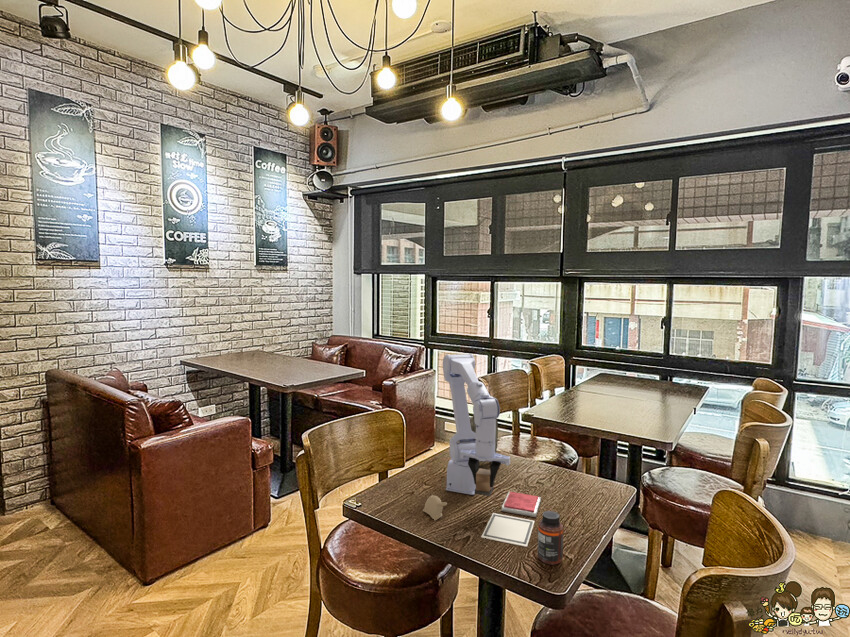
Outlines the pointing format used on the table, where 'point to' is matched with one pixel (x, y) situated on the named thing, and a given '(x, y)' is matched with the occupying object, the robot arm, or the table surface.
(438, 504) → the decorative ornament
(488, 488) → the stamp
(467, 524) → the table surface
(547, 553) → the supplement bottle
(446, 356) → the robot arm
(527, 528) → the paper card
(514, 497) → the ink pad
